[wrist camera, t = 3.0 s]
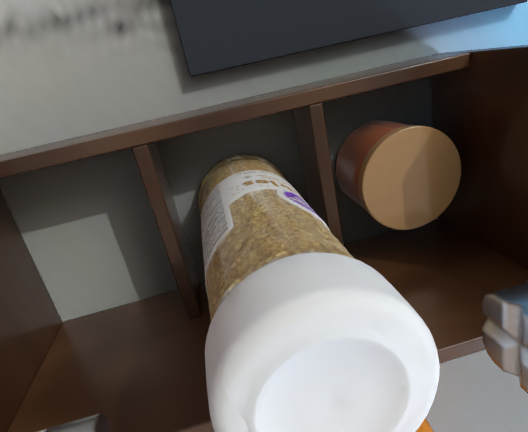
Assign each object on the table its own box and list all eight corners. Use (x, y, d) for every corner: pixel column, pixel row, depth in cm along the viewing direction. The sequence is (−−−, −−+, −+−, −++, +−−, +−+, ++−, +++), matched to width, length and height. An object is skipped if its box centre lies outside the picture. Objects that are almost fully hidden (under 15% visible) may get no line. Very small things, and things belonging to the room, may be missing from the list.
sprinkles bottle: (301, 170, 20) (493, 332, 7) (267, 250, 21) (383, 509, 8) (214, 138, 19) (267, 265, 6) (182, 225, 20) (173, 484, 7)
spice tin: (414, 108, 20) (460, 114, 16) (420, 194, 21) (463, 215, 18) (327, 129, 19) (356, 140, 16) (339, 215, 21) (368, 241, 18)
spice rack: (441, 52, 19) (637, 34, 11) (448, 225, 22) (602, 313, 14) (-29, 161, 17) (-237, 243, 9) (55, 334, 20) (-37, 514, 12)
